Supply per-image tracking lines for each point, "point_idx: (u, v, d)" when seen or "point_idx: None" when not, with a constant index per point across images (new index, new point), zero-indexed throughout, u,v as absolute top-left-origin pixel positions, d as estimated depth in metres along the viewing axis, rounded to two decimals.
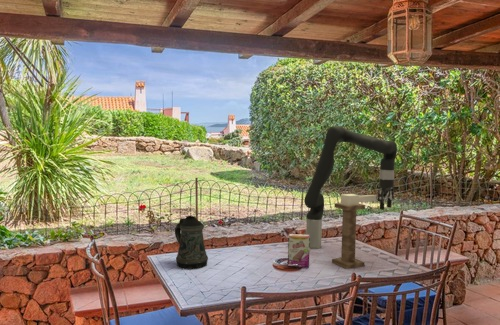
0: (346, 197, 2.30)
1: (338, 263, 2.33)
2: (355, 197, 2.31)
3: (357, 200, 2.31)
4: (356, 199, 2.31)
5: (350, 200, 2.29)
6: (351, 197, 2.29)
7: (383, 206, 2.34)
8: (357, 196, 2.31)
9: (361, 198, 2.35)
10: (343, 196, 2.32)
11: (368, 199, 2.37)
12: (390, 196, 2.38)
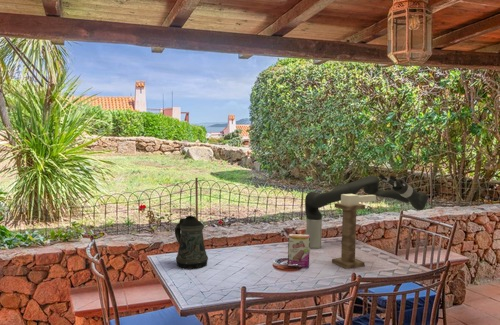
0: (346, 197, 2.30)
1: (338, 263, 2.33)
2: (355, 197, 2.31)
3: (357, 200, 2.31)
4: (356, 199, 2.31)
5: (350, 200, 2.29)
6: (351, 197, 2.29)
7: (381, 175, 2.57)
8: (357, 196, 2.31)
9: (361, 198, 2.35)
10: (343, 196, 2.32)
11: (368, 199, 2.37)
12: None
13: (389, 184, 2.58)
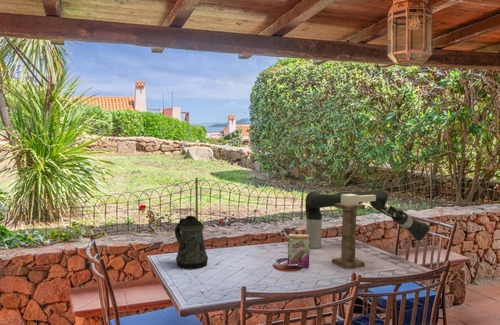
0: (346, 197, 2.30)
1: (338, 263, 2.33)
2: (355, 197, 2.31)
3: (357, 200, 2.31)
4: (356, 199, 2.31)
5: (350, 200, 2.29)
6: (351, 197, 2.29)
7: None
8: (357, 196, 2.31)
9: (361, 198, 2.35)
10: (343, 196, 2.32)
11: (368, 199, 2.37)
12: None
13: (388, 214, 2.49)
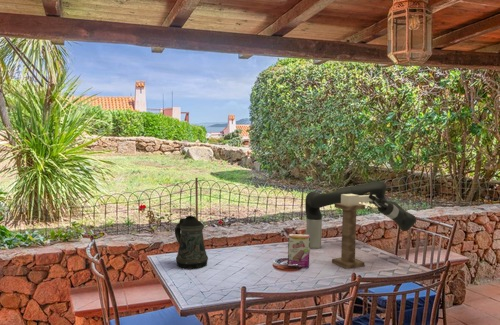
0: (346, 197, 2.30)
1: (338, 263, 2.33)
2: (355, 197, 2.31)
3: (357, 200, 2.31)
4: (356, 199, 2.31)
5: (350, 200, 2.29)
6: (351, 197, 2.29)
7: (368, 194, 2.40)
8: (357, 196, 2.31)
9: (361, 198, 2.35)
10: (343, 196, 2.32)
11: (368, 199, 2.37)
12: None
13: (374, 204, 2.43)
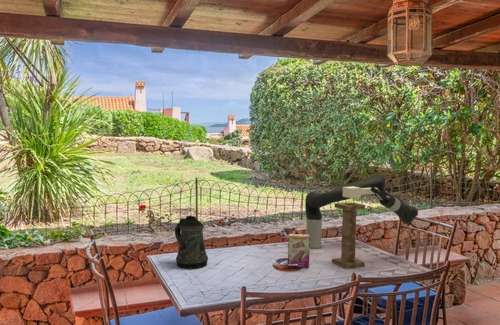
0: (348, 189, 2.30)
1: (338, 263, 2.33)
2: (357, 189, 2.30)
3: (359, 192, 2.31)
4: (358, 192, 2.31)
5: (352, 192, 2.29)
6: (353, 189, 2.29)
7: (370, 187, 2.40)
8: (359, 188, 2.31)
9: (363, 191, 2.34)
10: (345, 189, 2.32)
11: (370, 192, 2.37)
12: None
13: (376, 197, 2.43)
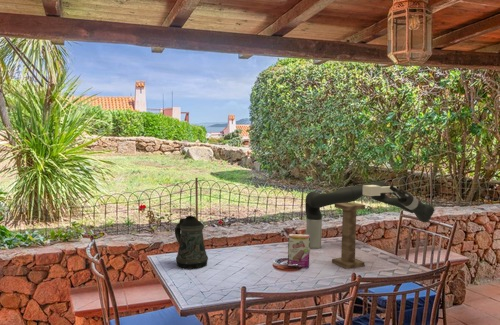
0: (368, 188, 2.35)
1: (338, 263, 2.33)
2: (377, 188, 2.36)
3: (379, 191, 2.37)
4: (378, 190, 2.36)
5: (372, 191, 2.35)
6: (373, 188, 2.35)
7: None
8: (379, 187, 2.36)
9: (382, 189, 2.40)
10: (365, 187, 2.37)
11: (389, 190, 2.42)
12: None
13: (394, 195, 2.48)
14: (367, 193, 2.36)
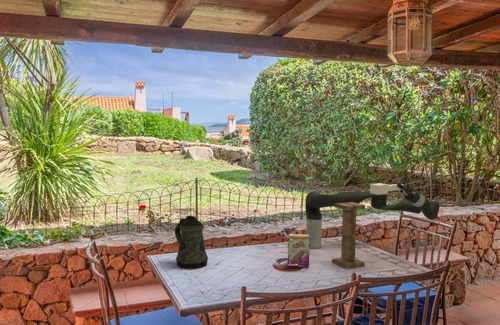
0: (376, 186, 2.38)
1: (338, 263, 2.33)
2: (384, 186, 2.39)
3: (386, 189, 2.39)
4: (385, 188, 2.39)
5: (380, 189, 2.37)
6: (380, 186, 2.38)
7: (395, 183, 2.49)
8: (386, 185, 2.39)
9: (390, 187, 2.43)
10: (372, 185, 2.40)
11: (396, 188, 2.45)
12: None
13: None
14: (375, 192, 2.39)
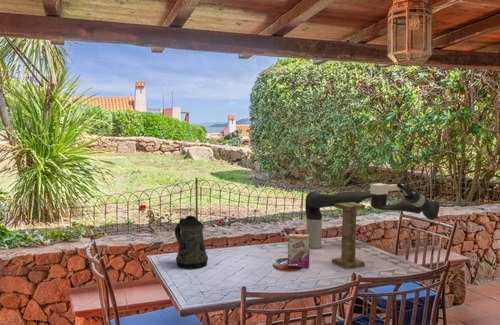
0: (376, 186, 2.38)
1: (338, 263, 2.33)
2: (384, 186, 2.39)
3: (386, 189, 2.39)
4: (385, 188, 2.39)
5: (380, 189, 2.37)
6: (380, 186, 2.38)
7: (395, 183, 2.49)
8: (386, 185, 2.39)
9: (390, 187, 2.43)
10: (372, 185, 2.40)
11: (396, 188, 2.45)
12: None
13: None
14: (375, 192, 2.39)
